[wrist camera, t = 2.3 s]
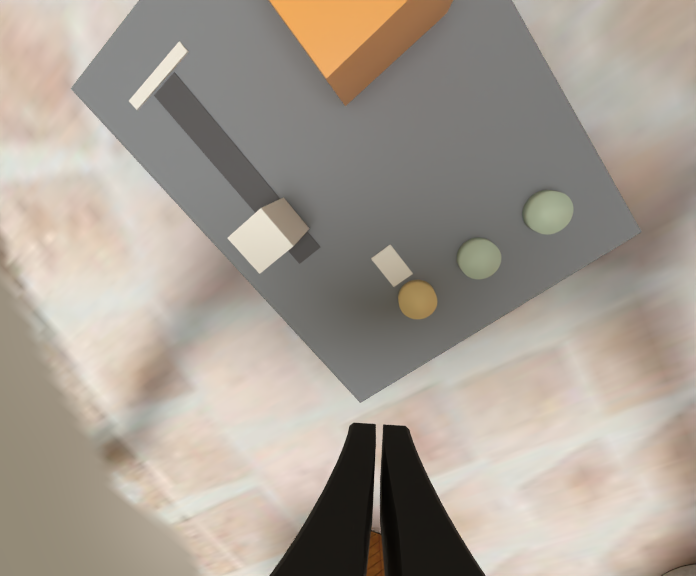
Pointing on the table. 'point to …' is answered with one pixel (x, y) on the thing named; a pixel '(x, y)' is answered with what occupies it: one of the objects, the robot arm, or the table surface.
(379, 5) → the cap
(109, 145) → the table surface
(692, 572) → the house plant
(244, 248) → the switch
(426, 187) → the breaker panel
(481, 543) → the table surface
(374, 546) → the disposable coffee cup
